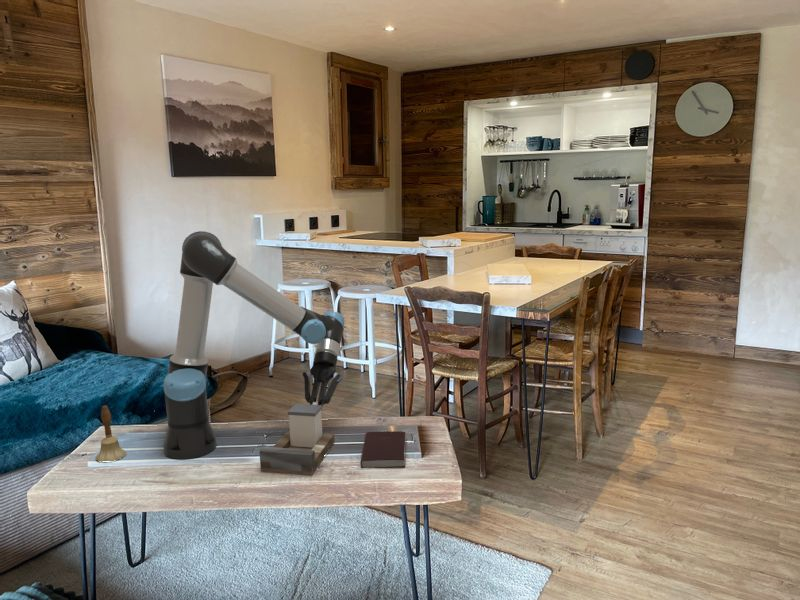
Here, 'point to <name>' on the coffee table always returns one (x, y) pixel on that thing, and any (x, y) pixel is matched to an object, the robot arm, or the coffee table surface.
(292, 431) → the beige upright block
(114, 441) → the hand bell
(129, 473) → the coffee table surface
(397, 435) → the book
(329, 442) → the dark open tray
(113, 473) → the coffee table surface
